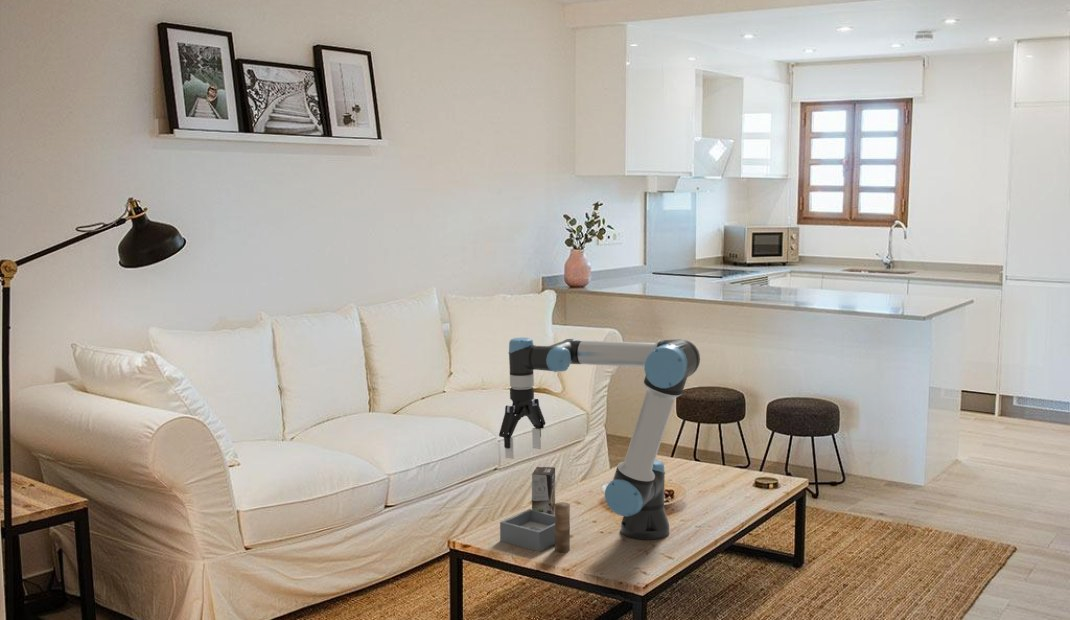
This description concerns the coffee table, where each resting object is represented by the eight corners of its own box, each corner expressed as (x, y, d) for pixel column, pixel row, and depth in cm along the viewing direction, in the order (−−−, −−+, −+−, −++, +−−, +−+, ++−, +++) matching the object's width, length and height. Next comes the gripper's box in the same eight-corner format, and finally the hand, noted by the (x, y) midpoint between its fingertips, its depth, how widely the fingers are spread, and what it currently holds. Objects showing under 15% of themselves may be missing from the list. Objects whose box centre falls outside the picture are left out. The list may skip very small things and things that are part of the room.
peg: (572, 549, 303) (572, 504, 301) (564, 553, 299) (564, 508, 297) (560, 545, 305) (560, 501, 303) (552, 550, 302) (552, 505, 300)
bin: (568, 537, 313) (568, 518, 312) (539, 551, 301) (539, 532, 300) (529, 527, 321) (529, 509, 321) (500, 540, 310) (500, 522, 309)
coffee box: (550, 523, 325) (550, 475, 323) (531, 522, 326) (531, 473, 324) (555, 514, 334) (555, 466, 331) (536, 512, 335) (536, 465, 333)
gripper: (537, 379, 328) (538, 442, 331) (486, 392, 309) (488, 460, 311) (555, 381, 323) (556, 446, 326) (505, 395, 304) (506, 464, 307)
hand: (523, 453), depth 319 cm, fingers open, 13 cm apart
